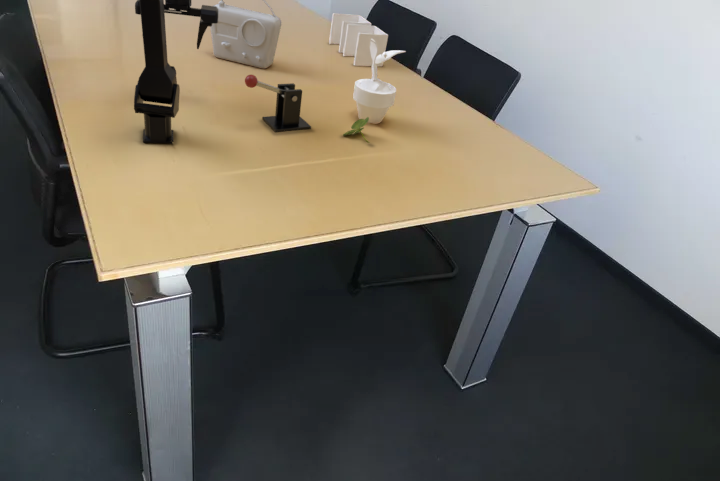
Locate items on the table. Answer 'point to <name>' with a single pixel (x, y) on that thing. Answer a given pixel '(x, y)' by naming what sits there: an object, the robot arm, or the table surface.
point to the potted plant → (375, 89)
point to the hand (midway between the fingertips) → (178, 46)
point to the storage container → (356, 37)
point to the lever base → (287, 111)
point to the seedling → (357, 127)
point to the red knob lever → (263, 85)
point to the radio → (245, 35)
